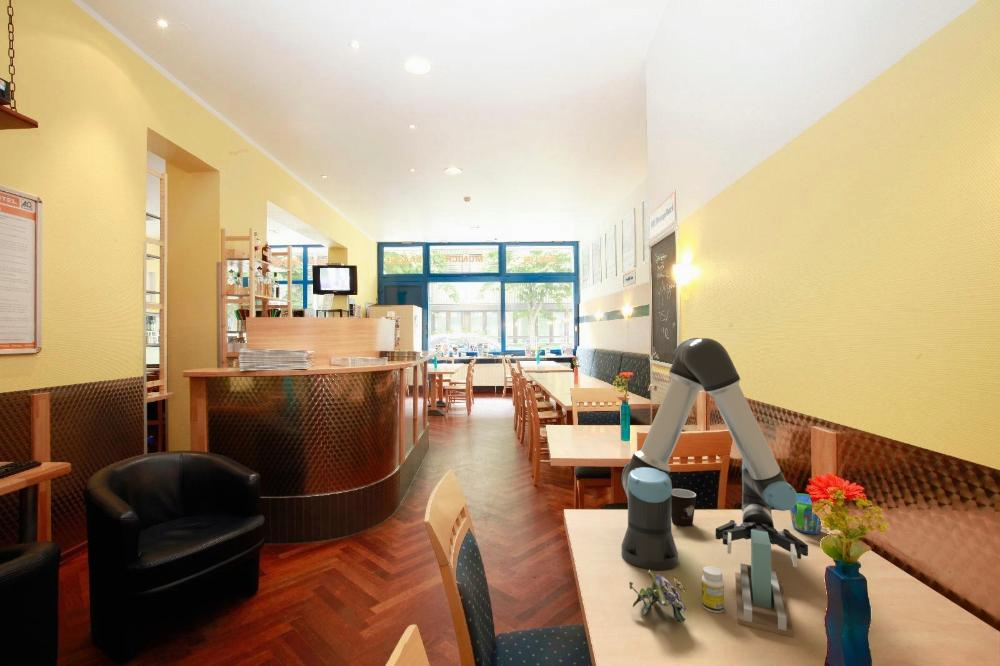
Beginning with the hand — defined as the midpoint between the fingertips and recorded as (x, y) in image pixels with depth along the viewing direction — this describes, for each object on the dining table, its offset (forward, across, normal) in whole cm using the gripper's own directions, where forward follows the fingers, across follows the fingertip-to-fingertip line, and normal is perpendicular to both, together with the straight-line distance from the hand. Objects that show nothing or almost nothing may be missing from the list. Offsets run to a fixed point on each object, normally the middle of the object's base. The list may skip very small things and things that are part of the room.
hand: (761, 554), depth 107 cm
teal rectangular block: (+2, 0, -9) cm, 9 cm away
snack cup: (-52, -15, -10) cm, 55 cm away
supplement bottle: (+10, +10, -10) cm, 17 cm away
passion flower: (+20, +20, -10) cm, 30 cm away
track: (+3, 0, -10) cm, 11 cm away
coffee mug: (-38, +23, -10) cm, 45 cm away
